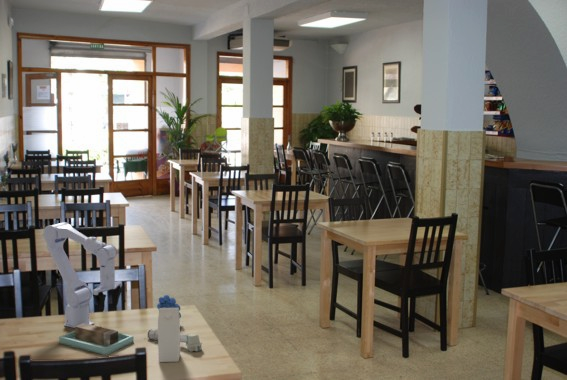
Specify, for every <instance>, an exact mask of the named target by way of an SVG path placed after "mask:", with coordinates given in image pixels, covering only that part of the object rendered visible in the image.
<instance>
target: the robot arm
mask: <svg viewBox="0 0 567 380" xmlns="http://www.w3.org/2000/svg"><path fill="white" fill-rule="evenodd" d="M42 236H43V238H44V240H45V242H46V247H47V250H48V253H49V254H50V256H51V258H52V260H53V262H54V264H55V266H56V268H57V270H58V271H59V274H60V276H61V278H62V280H63V281H64V283H65V286H66V287H65V290H64V294H65V298H66V302H67V305H66V306H65V309H64V311H65V312H64V316H65V317H64V318H65V323H64V324H63V325H64V326H65V327H70V328H73V329H75V326H78V325H80V324H83V323H85V324H90V325H94V324H95V322H94V321H90V304H89V303H90V302H91V301H90V300H92V298H94V300H95V301H96V304H97V307H98V310H99V311H101V312H102V311H105V304H106V303H105V302H106V297H107V294H105V292H108V291H110V294H111V303H112V305H113V306H118V305H119V300H120V297H121V294H122V292H123V290H124V288H123V282H122V281H120V280H117V281H116V276H115V275H116V274H115V273H116V269H115V265H116V264H115V258H116V257H117V255H118V249H117V247H116V246H114V244H112V243H111V244H110V243H109V244H107V243H106V242H102V241H100V240H98V239H97V237H96V236H89V237H88V236H86V235H85V234H83V233H82V232H79V231H78V230H77V229H76V228H74V227H73V226H72V225H71V224H70V223H68V222H65V221H62V222H60V223H59V222H58V223H55V224H52V225H51V224H50V225H46V226H45V227H44V230H43V234H42ZM67 239H69V240H71V241H74V242H76V243H78V244H81V245H82V246H83V248H84V250H85V251H87V252H89V253H91V254H92V255H94V256H96V258H97V260H98V265H99V276H100V277H99V278H100V282H99V283H100V285H99V286H97V287H96V288H94V289H91V288H90V287H89V286H88V285H87V283H86V282H85V281H82V280H81V279H79V277H78V274H77V272H76V271H75V269H74V266H73V265H72V263H71V261H70V259H69V257H68V255H67V254H66V252H65V250H64V248H63V245H64V243H65V242H66V240H67Z"/></svg>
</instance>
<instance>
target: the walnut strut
mask: <svg viewBox="0 0 567 380" xmlns="http://www.w3.org/2000/svg"><path fill="white" fill-rule="evenodd" d="M74 331H75V339H78V340H82V341H86V342H90V343H94V344H98V345H102V346H105V347H108V346H110V345H112V344H114V343H116V342H118V332H119V330H116V329H111V328H107V327H103V326H97V325H94V324H92V325H90V324H85V323H83V324H80V325H78V326H75V328H74Z"/></svg>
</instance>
